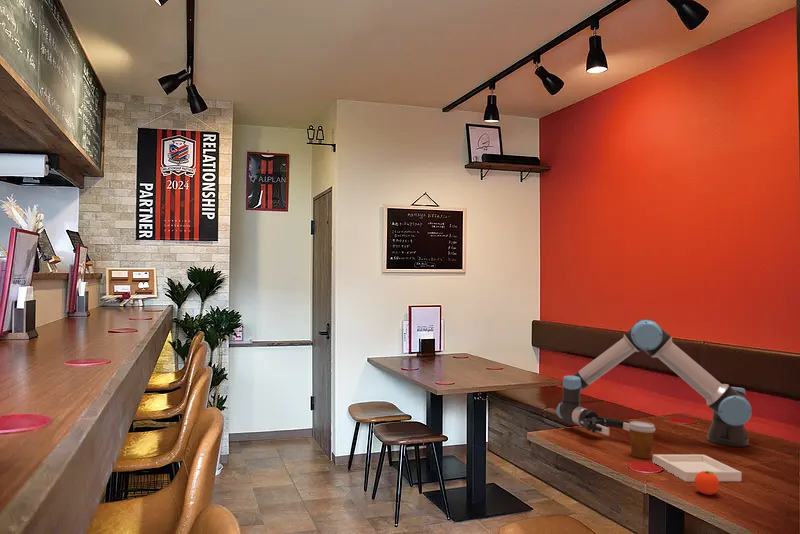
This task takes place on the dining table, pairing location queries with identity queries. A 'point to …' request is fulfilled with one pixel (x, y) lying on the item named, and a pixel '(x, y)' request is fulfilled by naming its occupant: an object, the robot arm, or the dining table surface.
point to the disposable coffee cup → (641, 438)
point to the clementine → (707, 482)
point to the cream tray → (696, 467)
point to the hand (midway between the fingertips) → (622, 430)
